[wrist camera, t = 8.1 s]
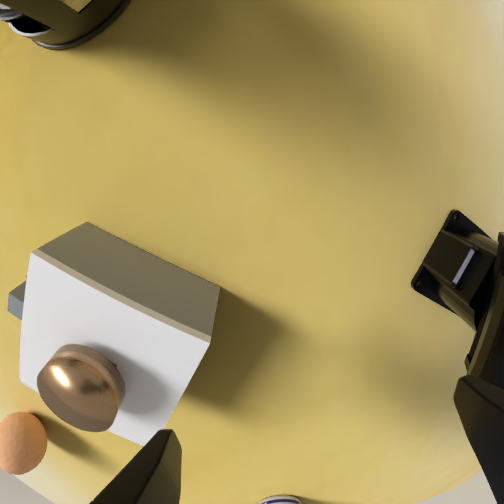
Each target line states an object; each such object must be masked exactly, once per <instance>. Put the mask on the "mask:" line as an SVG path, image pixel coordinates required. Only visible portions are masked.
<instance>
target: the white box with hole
mask: <svg viewBox="0 0 504 504" xmlns="http://www.w3.org/2000/svg"><path fill="white" fill-rule="evenodd" d="M219 292H220V286H218V285H215V284H213V283H211V282H209V281H207V280H205V279H202V278H200V277H198V276H196V275H194V274H192V273H190V272H187V271H185V270H183V269H181V268H179V267H177V266H175V265H173V264H171V263H168V262H166V261H164V260H162V259H160V258H158V257H156V256H154V255H152V254H150V253H148V252H146V251H144V250H142V249H140V248H137V247H135V246H133V245H131V244H129V243H127V242H125V241H123V240H121V239H119V238H117V237H115V236H113V235H111V234H109V233H107V232H105V231H103V230H102V229H100V228H98V227H96V226H94V225H92V224H90V223H88V222H86V223H84V224H82V225H80V226H78V227H76V228H74V229H72V230H70V231H69V232H67V233H65V234H63V235H61V236H59V237H57V238H56V239H54V240H52V241H50V242H48V243H47V244H45V245H43V246H41V247H40V248H38V249H36V250H34V251H33V252H31V256H30V261H29V267H28V274H27V280H26V281H25V282H23V283H22V284H21V285H19V286H18V287H16V288H15V289H14V290H12V291H11V292H10V293H9V299H8V311H9V312H10V313H12V314H13V315H15V316H16V317H18V318H19V319H21V320H22V327H21V344H20V381H21V382H22V383H24V384H25V385H27V386H28V387H30V388H31V389H33V390H34V391H36V392H38V393H39V391H38V388H37V376H38V374H39V372H40V371H41V370H42V368H43V367H44V366H45V365H46V363H47V362H48V361H49V360H50V358H51V357H52V356H53V355H54V353H55V352H56V351H57V350H58V349H59V348H60V347H61V346H63V345H66V344H80V345H84V346H87V347H90V348H92V349H94V350H96V351H97V352H99V353H101V354H102V355H103V356H105V357H106V358H107V359H108V360H110V361H111V362H112V363H113V364H114V366H115V367H116V368H117V369H118V371H119V372H120V374H121V376H122V378H123V380H124V383H125V388H126V392H125V397H124V399H123V401H122V403H121V406H120V408H119V410H118V413H117V415H116V418H115V420H114V422H113V424H112V426H111V427H110V428H109V429H107V430H108V431H110V432H112V433H114V434H117V435H119V436H121V437H123V438H126V439H128V440H130V441H133V442H135V443H138V444H140V445H142V446H145V445H146V443H147V442H148V441H149V440H150V439H151V438H152V437H153V436H154V435H155V434H156V432H157V431H158V430H160V429H164V427H165V426H166V424H167V422H168V420H169V418H170V416H171V415H172V413H173V411H174V409H175V407H176V405H177V404H178V402H179V400H180V398H181V396H182V394H183V393H184V391H185V389H186V387H187V385H188V383H189V382H190V380H191V378H192V376H193V374H194V372H195V370H196V369H197V367H198V365H199V363H200V361H201V359H202V358H203V356H204V354H205V352H206V350H207V348H208V346H209V345H210V341H211V336H212V330H213V325H214V319H215V314H216V308H217V303H218V297H219ZM39 394H40V393H39Z"/></svg>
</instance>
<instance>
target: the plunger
mask: <svg viewBox="0 0 504 504" xmlns="http://www.w3.org/2000/svg"><path fill="white" fill-rule="evenodd" d="M37 388H38V391H39V393H40V396H41V397H42V399H43V401H44V402H45V404H46V405H47V406H48V407H49V409H50V410H51V411H52V412H53V413H54V414H56V415H57V416H58V417H59V418H60V419H62V420H63V421H65V422H66V423H68V424H70V425H72V426H74V427H76V428H79V429H81V430H85V431H90V432H101V431H105V430H107V429H109V428H110V427H111V426H112V424H113V422H114V420H115V418H116V415H117V413H118V410H119V408H120V406H121V403H122V401H123V399H124V397H125V392H126V388H125V383H124V380H123V378H122V376H121V374H120V372H119V371H118V369H117V368H116V367H115V366H114V364H113V363H112V362H111V361H110V360H108V359H107V358H106V357H105V356H103V355H102V354H101V353H99V352H97V351H96V350H94V349H92V348H90V347H87V346H84V345H80V344H66V345H63V346H61V347H60V348H59V349H58V350H57V351H56V352H55V353H54V355H53V356H52V357H51V358H50V360H49V361H48V362H47V363H46V365H45V366H44V367H43V368H42V370H41V371H40V372H39V374H38V376H37Z"/></svg>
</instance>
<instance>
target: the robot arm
mask: <svg viewBox="0 0 504 504" xmlns="http://www.w3.org/2000/svg"><path fill="white" fill-rule="evenodd" d="M455 215H456V216H457V217H456V219H455V220H454V216H455ZM498 242H499V243H498ZM498 242H496V241H494V240H492V239H491V238H490V237H489V236H488V235H487V234H486V233H484V232H483V231H482V230H481V229H480V228H479V227H478V226H477V225H475V224H474V223H473V222H472V221H471V220H470V219H468V218H467V217H466V216H465V215H464V214H462V213H461V212H460V211H458V210H455V209H454V210H452V211H451V212H450V213H449V215H448V217H447V219H446V221H445V223H444V225H443V227H442V228H441V230H440V232H439V233H438V235H437V237H436V239H435V241H434V242H433V244H432V246H431V248H430V250H429V251H428V253H427V255H426V257H425V258H424V260H423V262H422V264H421V266H420V268H419V269H418V271H417V273H416V274H415V276H414V278H413V279H412V281H411V287H412V288H413V289H414V290H415V291H417V292H418V293H420V294H422V295H424V296H425V297H427V298H429V299H431V300H432V301H434V302H436V303H438V304H439V305H441V306H443V307H445V308H446V309H448V310H450V311H451V312H453V313H455V314H457V315H458V316H460V317H461V318H462V319H463V320H464V321H465V322H466V323H467V324H468V325H469V326H470V327H471V328H472V329H474V330H475V331H476V335H475V338H474V340H473V343H472V346H471V349H470V352H469V354H467V356H466V359H465V361H464V363H465V366H466V369H467V375H466V376H463V377H461V378H459V380H458V382H457V386H456V389H455V392H454V397H453V398H454V403H455V406H456V408H457V411H458V414H459V416H460V419H461V422H462V424H463V427H464V430H465V433H466V435H467V438H468V440H469V442H470V444H471V446H472V448H473V450H474V452H475V454H476V456H477V459H478V461H479V463H480V465H481V467H482V469H483V472H484V474H485V476H486V478H487V480H488V483H489V485H490V487H491V490H492V492H493V494H494V497H495V499H496V501H497V504H504V232H499V235H498ZM419 281H420V283H419V285H417V286H416V284H417V283H418V282H419ZM181 458H182V449H181V445H180V443H179V441H178V439H177V436H176V434H175V432H174V431H173V430H172V429H160V430H158V431H157V432H156V434H155V435H154V436H153V437H152V438H151V439H150V440H149V441H148V442H147V443H146V445H145V446H144V447H143V448H142V449H141V450H140V451H139V452H138V453H137V454H136V455H135V456H134V458H133V459H132V460H131V461H130V462H129V463H128V464H127V465H126V466H125V467H124V468H123V469H122V470H121V471H120V472H119V474H118V475H117V476H116V477H115V478H114V479H113V480H112V481H111V482H110V483H109V484H108V485H107V486H106V487H105V488H104V489H103V490H102V491H101V492H100V493H99V494H98V495H97V496H96V497H95V498H94V501H91V502H90V503H89V504H179V500H180V492H181Z"/></svg>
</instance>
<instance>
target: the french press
mask: <svg viewBox="0 0 504 504" xmlns="http://www.w3.org/2000/svg"><path fill="white" fill-rule="evenodd" d="M130 1H131V0H91V2H90V3H89V4H87V5H86V6H85V7H84V8H83V9H82V10H80V11H79V12H77V11H75V10H74V9H72V8H71V7H69V6H68V5H66V4H65V3H63V2H62V1H61V0H0V21H5V22H8V24H9V25H10V27H11V29H12V30H13V31H15V32H16V33H17V34H20V35H22V36H25V37H28V38H30V39H32V40H33V41H34V42H35V43H36V44H37V45H39V46H42V47H44V48H47V49H54V50H59V49H67V48H71V47H74V46H77V45H80V44H82V43H84V42H86V41H88V40H90V39H92V38H93V37H95V36H96V35H98V34H99V33H101V32H102V31H103V30H105V29H106V28H107V27H108V26H109V25H111V24H112V23H113V22H114V21H115V20H116V19H117V18H118V17H119V16H120V14H121V13H122V12H123V11H124V10H125V8H126V7H127V5H128V4H129V3H130ZM42 23H43V24H45V25H47V26H49V27H51V28H52V29H49V30H47V29H46V28H45V27H44V26H43V25H42Z"/></svg>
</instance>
